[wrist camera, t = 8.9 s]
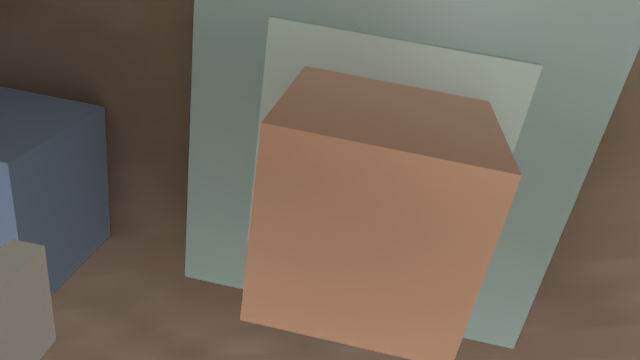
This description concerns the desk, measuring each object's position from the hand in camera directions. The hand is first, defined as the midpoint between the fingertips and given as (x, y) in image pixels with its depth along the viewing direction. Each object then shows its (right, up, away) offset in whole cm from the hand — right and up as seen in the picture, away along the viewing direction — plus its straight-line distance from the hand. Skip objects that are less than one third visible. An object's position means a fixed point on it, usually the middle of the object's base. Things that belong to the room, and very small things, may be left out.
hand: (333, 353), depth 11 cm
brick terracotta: (+2, +4, +10) cm, 11 cm away
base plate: (+2, +5, +11) cm, 12 cm away
